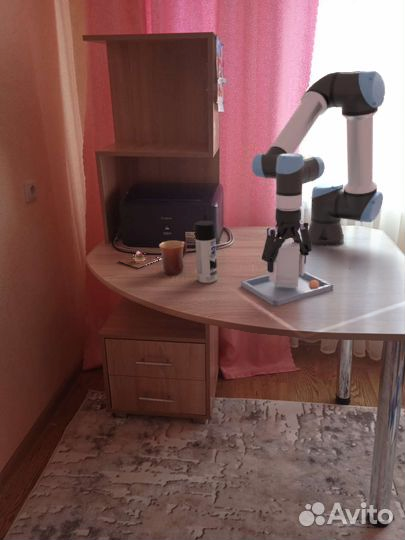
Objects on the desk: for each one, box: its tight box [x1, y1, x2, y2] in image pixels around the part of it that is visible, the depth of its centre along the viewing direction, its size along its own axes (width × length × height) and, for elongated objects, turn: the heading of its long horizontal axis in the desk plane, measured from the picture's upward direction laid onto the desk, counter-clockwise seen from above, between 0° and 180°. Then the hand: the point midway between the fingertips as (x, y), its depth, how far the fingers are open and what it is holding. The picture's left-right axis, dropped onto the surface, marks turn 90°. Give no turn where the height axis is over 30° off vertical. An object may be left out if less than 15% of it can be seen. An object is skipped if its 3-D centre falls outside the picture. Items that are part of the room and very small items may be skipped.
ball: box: [309, 280, 319, 289], centre depth 145 cm, size 3×3×3 cm
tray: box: [240, 270, 334, 307], centre depth 148 cm, size 22×18×2 cm
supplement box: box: [274, 240, 300, 287], centre depth 145 cm, size 7×7×13 cm
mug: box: [158, 240, 188, 276], centre depth 166 cm, size 12×9×10 cm
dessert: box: [134, 250, 162, 266], centre depth 178 cm, size 12×12×5 cm
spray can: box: [194, 220, 218, 284], centre depth 155 cm, size 7×7×20 cm
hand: (286, 277), depth 147 cm, fingers closed on supplement box, 10 cm apart
